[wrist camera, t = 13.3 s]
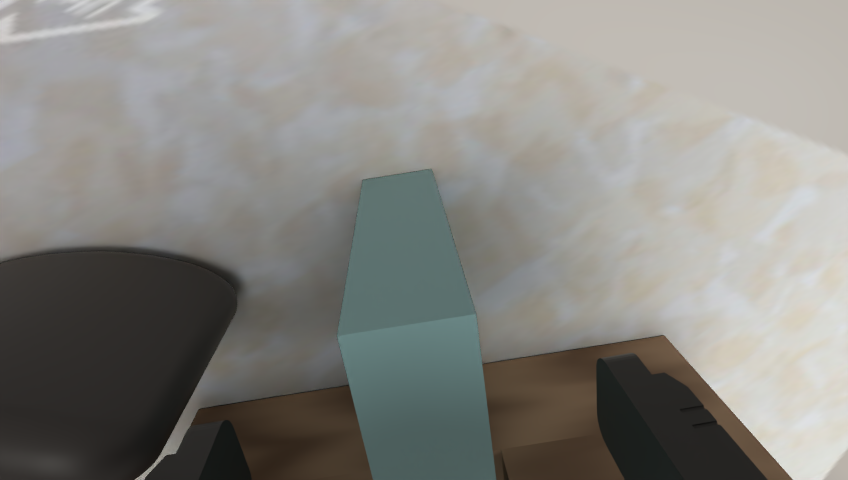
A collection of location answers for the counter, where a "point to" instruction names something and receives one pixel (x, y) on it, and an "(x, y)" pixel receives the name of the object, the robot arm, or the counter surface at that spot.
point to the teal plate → (413, 338)
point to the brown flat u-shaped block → (508, 417)
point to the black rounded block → (101, 359)
